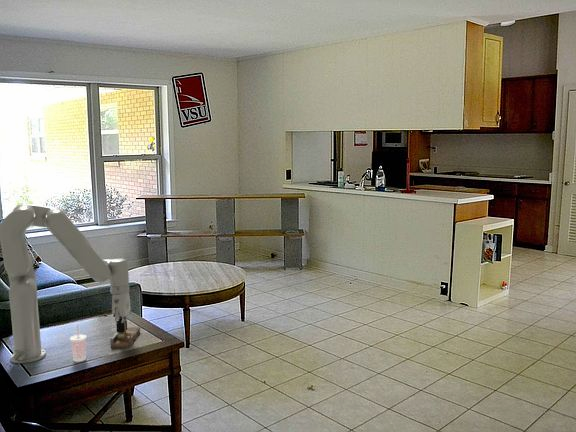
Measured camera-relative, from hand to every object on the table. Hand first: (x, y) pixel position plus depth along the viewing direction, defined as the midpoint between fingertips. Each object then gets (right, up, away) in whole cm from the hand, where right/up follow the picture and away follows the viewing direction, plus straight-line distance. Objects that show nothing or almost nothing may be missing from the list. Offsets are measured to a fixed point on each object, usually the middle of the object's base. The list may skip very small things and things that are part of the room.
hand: (122, 330), depth 224 cm
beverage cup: (-11, -8, -16) cm, 22 cm away
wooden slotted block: (+1, -5, +3) cm, 6 cm away
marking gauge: (+1, -3, 0) cm, 3 cm away
